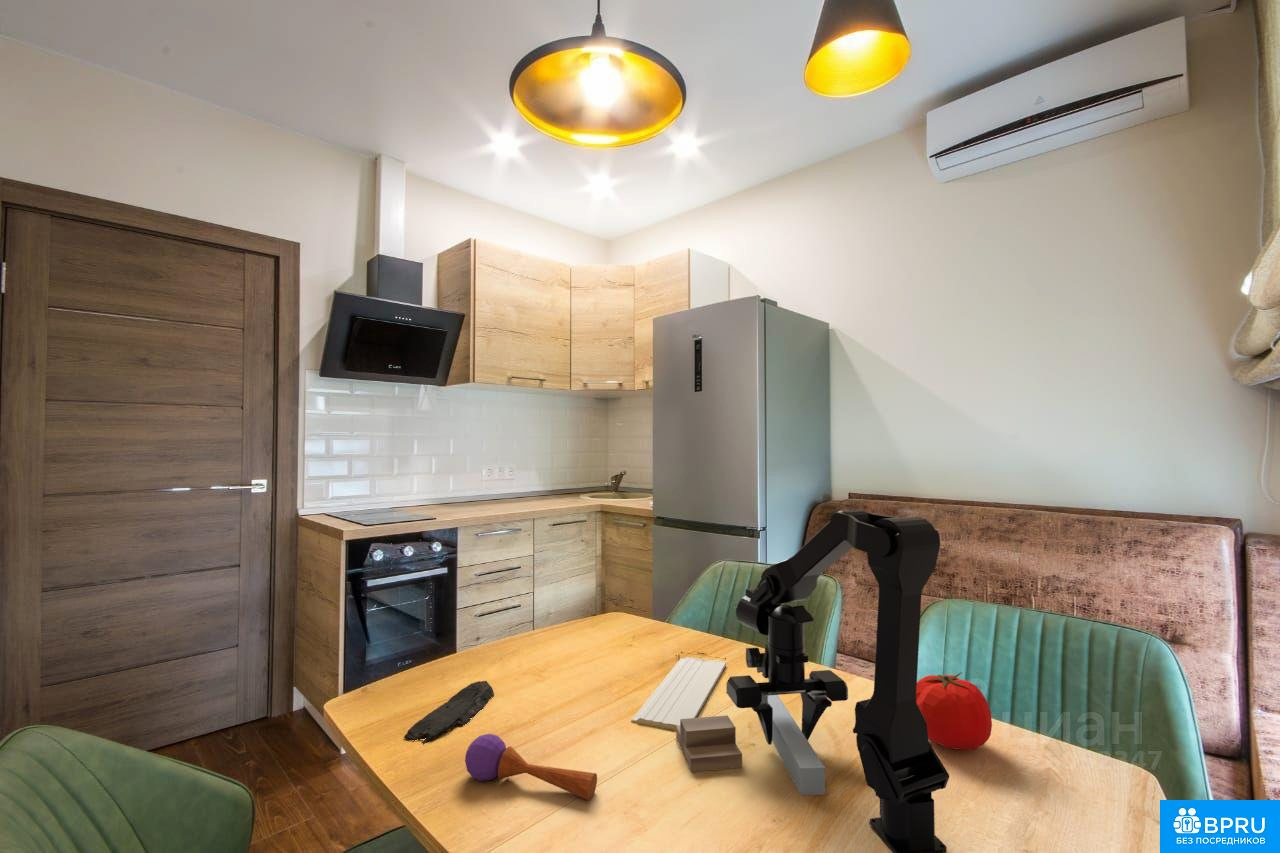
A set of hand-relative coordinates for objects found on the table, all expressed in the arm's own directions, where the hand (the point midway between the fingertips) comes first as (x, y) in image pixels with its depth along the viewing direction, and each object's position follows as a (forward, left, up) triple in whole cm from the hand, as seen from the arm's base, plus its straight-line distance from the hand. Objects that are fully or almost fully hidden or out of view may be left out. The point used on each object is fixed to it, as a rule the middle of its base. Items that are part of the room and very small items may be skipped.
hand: (787, 741), depth 90 cm
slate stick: (0, 0, -1) cm, 1 cm away
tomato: (-3, -27, -1) cm, 27 cm away
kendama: (-3, +41, -2) cm, 41 cm away
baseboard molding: (+24, +12, -2) cm, 27 cm away
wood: (+21, +54, -2) cm, 58 cm away
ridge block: (+1, +13, -1) cm, 13 cm away
